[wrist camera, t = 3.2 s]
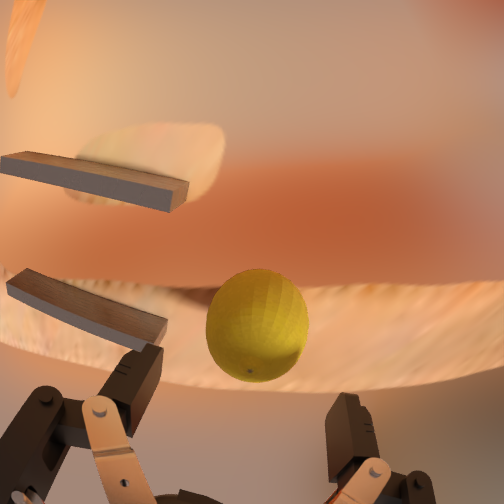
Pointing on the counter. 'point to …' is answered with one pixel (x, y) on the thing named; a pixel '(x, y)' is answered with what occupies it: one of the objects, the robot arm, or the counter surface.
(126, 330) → the guide channel
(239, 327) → the lemon
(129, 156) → the counter surface
